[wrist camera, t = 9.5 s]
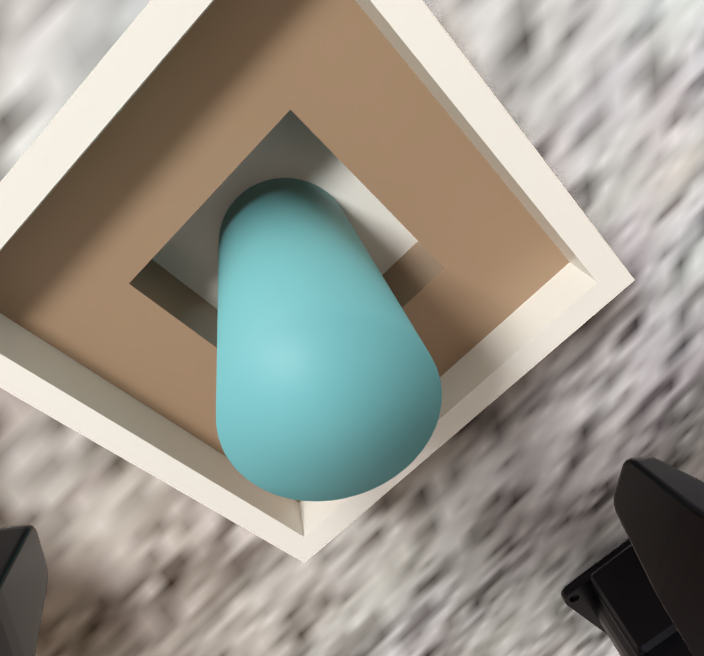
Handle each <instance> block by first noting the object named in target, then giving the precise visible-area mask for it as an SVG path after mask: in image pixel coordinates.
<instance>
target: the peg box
mask: <svg viewBox="0 0 704 656" xmlns="http://www.w3.org/2000/svg"><path fill="white" fill-rule="evenodd" d="M276 178H295V179H301V180H304V181H307V182H311V183H313V184H315V185H317V186H319V187H320V188H322V189H324V190H325V191H326V192H328V193H329V194H330V195H331V196H332V197H333V198H334V199H335V200H336V201H337V202H338V204H339V205H340V207H341V208H342V210H343V211H344V213H345V215H346V216H347V218H348V220H349V221H350V223H351V225H352V226H353V228H354V230H355V231H356V233H357V235H358V236H359V238H360V240H361V241H362V243H363V244H364V246H365V248H366V249H367V251H368V253H369V254H370V256H371V258H372V259H373V261H374V263H375V264H376V266H377V268H378V269H379V271H380V273H381V274H382V276H383V278H384V279H385V281H386V282H387V284H388V286H389V287H390V289H391V291H392V292H393V294H394V296H395V297H396V299H397V301H398V302H399V304H400V306H401V307H402V309H403V311H404V312H405V314H406V316H407V317H408V319H409V320H410V322H411V324H412V325H413V327H414V329H415V330H416V332H417V334H418V335H419V337H420V339H421V340H422V342H423V344H424V345H425V347H426V349H427V350H428V352H429V354H430V355H431V357H432V359H433V361H434V363H435V365H436V367H437V370H438V373H439V377H440V380H441V389H442V404H441V410H440V415H439V419H438V422H437V425H436V428H435V430H434V432H433V434H432V436H431V438H430V440H429V441H428V443H427V444H426V446H425V448H424V449H423V450H422V452H421V453H420V454H419V455H418V456H417V458H416V459H415V460H414V461H413V462H412V463H411V464H410V465H409V466H408V467H407V468H406V469H404V470H403V471H402V472H400V473H399V474H398V475H397V476H395V477H394V478H392V479H391V480H389V481H387V482H386V483H384V484H382V485H380V486H378V487H376V488H374V489H372V490H370V491H367V492H365V493H362V494H359V495H356V496H352V497H348V498H344V499H338V500H332V501H301V500H294V499H289V498H285V497H281V496H278V495H275V494H272V493H270V492H267V491H265V490H263V489H261V488H260V487H258V486H256V485H254V484H253V483H251V482H250V481H249V480H247V479H246V478H245V477H244V476H243V475H242V474H240V473H239V472H238V471H237V470H236V469H235V467H234V466H233V465H232V463H231V462H230V461H229V460H228V458H227V456H226V454H225V452H224V451H223V449H222V446H221V443H220V440H219V438H218V432H217V427H216V377H217V317H218V256H219V233H220V227H221V224H222V221H223V218H224V216H225V214H226V212H227V210H228V209H229V207H230V206H231V204H232V203H233V202H234V201H235V199H236V198H237V197H239V196H240V195H241V194H242V193H243V192H244V191H246V190H247V189H249V188H250V187H252V186H254V185H256V184H258V183H261V182H263V181H266V180H271V179H276ZM633 281H634V278H633V277H632V276H631V274H630V273H629V272H628V270H627V269H626V268H625V266H624V265H623V264H622V262H621V261H620V260H619V259H618V257H617V256H616V255H615V253H614V252H613V251H612V249H611V248H610V247H609V245H608V244H607V243H606V241H605V240H604V239H603V237H602V236H601V235H600V233H599V232H598V231H597V230H596V228H595V227H594V226H593V224H592V223H591V222H590V220H589V219H588V218H587V216H586V215H585V214H584V212H583V211H582V210H581V208H580V207H579V206H578V204H577V203H576V202H575V201H574V199H573V198H572V197H571V195H570V194H569V193H568V191H567V190H566V189H565V187H564V186H563V185H562V183H561V182H560V181H559V179H558V178H557V177H556V175H555V174H554V173H553V172H552V170H551V169H550V168H549V166H548V165H547V164H546V162H545V161H544V160H543V158H542V157H541V156H540V154H539V153H538V152H537V150H536V149H535V148H534V146H533V145H532V144H531V143H530V141H529V140H528V139H527V137H526V136H525V135H524V133H523V132H522V131H521V129H520V128H519V127H518V125H517V124H516V123H515V121H514V120H513V119H512V117H511V116H510V115H509V114H508V112H507V111H506V110H505V108H504V107H503V106H502V104H501V103H500V102H499V100H498V99H497V98H496V96H495V95H494V94H493V92H492V91H491V90H490V88H489V87H488V86H487V85H486V83H485V82H484V81H483V79H482V78H481V77H480V75H479V74H478V73H477V71H476V70H475V69H474V67H473V66H472V65H471V63H470V62H469V61H468V59H467V58H466V57H465V56H464V54H463V53H462V52H461V50H460V49H459V48H458V46H457V45H456V44H455V42H454V41H453V40H452V38H451V37H450V36H449V34H448V33H447V32H446V30H445V29H444V28H443V27H442V25H441V24H440V23H439V21H438V20H437V19H436V17H435V16H434V15H433V13H432V12H431V11H430V9H429V8H428V7H427V5H426V4H425V3H424V1H423V0H150V2H149V3H148V4H147V5H146V6H145V8H144V9H143V10H142V11H141V12H140V14H139V15H138V16H137V17H136V19H135V20H134V21H133V22H132V23H131V25H130V26H129V27H128V28H127V29H126V31H125V32H124V33H123V34H122V35H121V37H120V38H119V39H118V40H117V42H116V43H115V44H114V45H113V46H112V48H111V49H110V50H109V51H108V52H107V54H106V55H105V56H104V57H103V58H102V60H101V61H100V62H99V63H98V65H97V66H96V67H95V68H94V69H93V71H92V72H91V73H90V74H89V75H88V77H87V78H86V79H85V80H84V81H83V83H82V84H81V85H80V86H79V88H78V89H77V90H76V91H75V92H74V94H73V95H72V96H71V97H70V98H69V100H68V101H67V102H66V103H65V104H64V106H63V107H62V108H61V109H60V111H59V112H58V113H57V114H56V115H55V117H54V118H53V119H52V120H51V121H50V123H49V124H48V125H47V126H46V127H45V129H44V130H43V131H42V132H41V134H40V135H39V136H38V137H37V138H36V140H35V141H34V142H33V143H32V144H31V146H30V147H29V148H28V149H27V150H26V152H25V153H24V154H23V155H22V157H21V158H20V159H19V160H18V161H17V163H16V164H15V165H14V166H13V167H12V169H11V170H10V171H9V172H8V173H7V175H6V176H5V177H4V178H3V180H2V181H1V182H0V388H2V389H3V390H5V391H7V392H9V393H10V394H12V395H14V396H15V397H17V398H19V399H21V400H22V401H24V402H26V403H28V404H29V405H31V406H33V407H35V408H36V409H38V410H40V411H41V412H43V413H45V414H47V415H48V416H50V417H52V418H54V419H55V420H57V421H59V422H61V423H62V424H64V425H66V426H68V427H69V428H71V429H73V430H74V431H76V432H78V433H80V434H81V435H83V436H85V437H87V438H88V439H90V440H92V441H94V442H95V443H97V444H99V445H101V446H102V447H104V448H106V449H107V450H109V451H111V452H113V453H114V454H116V455H118V456H120V457H121V458H123V459H125V460H127V461H128V462H130V463H132V464H134V465H135V466H137V467H139V468H140V469H142V470H144V471H146V472H147V473H149V474H151V475H153V476H154V477H156V478H158V479H160V480H161V481H163V482H165V483H166V484H168V485H170V486H172V487H173V488H175V489H177V490H179V491H180V492H182V493H184V494H186V495H187V496H189V497H191V498H193V499H194V500H196V501H198V502H199V503H201V504H203V505H205V506H206V507H208V508H210V509H212V510H213V511H215V512H217V513H219V514H220V515H222V516H224V517H226V518H227V519H229V520H231V521H232V522H234V523H236V524H238V525H239V526H241V527H243V528H245V529H246V530H248V531H250V532H252V533H253V534H255V535H257V536H259V537H260V538H262V539H264V540H265V541H267V542H269V543H271V544H272V545H274V546H276V547H278V548H279V549H281V550H283V551H285V552H286V553H288V554H290V555H291V556H293V557H295V558H297V559H298V560H300V561H302V562H304V563H305V562H306V561H307V560H309V559H310V558H311V557H312V556H313V555H314V554H316V553H317V552H318V551H319V550H320V549H321V548H323V547H324V546H325V545H326V544H327V543H328V542H330V541H331V540H332V539H333V538H334V537H335V536H337V535H338V534H339V533H340V532H341V531H342V530H344V529H345V528H346V527H347V526H348V525H350V524H351V523H352V522H353V521H354V520H355V519H357V518H358V517H359V516H360V515H361V514H362V513H364V512H365V511H366V510H367V509H368V508H369V507H371V506H372V505H373V504H374V503H375V502H376V501H378V500H379V499H380V498H381V497H382V496H383V495H385V494H386V493H387V492H388V491H389V490H390V489H392V488H393V487H394V486H395V485H396V484H397V483H399V482H400V481H401V480H402V479H403V478H404V477H406V476H407V475H408V474H409V473H410V472H411V471H413V470H414V469H415V468H416V467H417V466H418V465H420V464H421V463H422V462H423V461H424V460H425V459H427V458H428V457H429V456H430V455H431V454H432V453H434V452H435V451H436V450H437V449H438V448H439V447H441V446H442V445H443V444H444V443H445V442H446V441H448V440H449V439H450V438H451V437H452V436H453V435H455V434H456V433H457V432H458V431H459V430H460V429H462V428H463V427H464V426H465V425H466V424H467V423H469V422H470V421H471V420H472V419H473V418H474V417H476V416H477V415H478V414H479V413H480V412H481V411H483V410H484V409H485V408H486V407H487V406H488V405H490V404H491V403H492V402H493V401H494V400H495V399H497V398H498V397H499V396H500V395H501V394H502V393H504V392H505V391H506V390H507V389H508V388H509V387H511V386H512V385H513V384H514V383H515V382H516V381H518V380H519V379H520V378H521V377H522V376H523V375H525V374H526V373H527V372H528V371H529V370H530V369H532V368H533V367H534V366H535V365H536V364H537V363H539V362H540V361H541V360H542V359H543V358H544V357H546V356H547V355H548V354H549V353H550V352H551V351H553V350H554V349H555V348H556V347H557V346H558V345H560V344H561V343H562V342H563V341H564V340H565V339H567V338H568V337H569V336H570V335H571V334H572V333H574V332H575V331H576V330H577V329H578V328H579V327H581V326H582V325H583V324H584V323H585V322H586V321H588V320H589V319H590V318H591V317H592V316H593V315H595V314H596V313H597V312H598V311H599V310H600V309H602V308H603V307H604V306H605V305H606V304H607V303H609V302H610V301H611V300H612V299H613V298H614V297H616V296H617V295H618V294H619V293H620V292H621V291H623V290H624V289H625V288H626V287H627V286H628V285H630V284H631V283H632V282H633Z"/></svg>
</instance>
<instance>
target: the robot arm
mask: <svg viewBox="0 0 704 656" xmlns="http://www.w3.org/2000/svg"><path fill="white" fill-rule="evenodd" d="M614 506H615V510H616V513H617V515H618V517H619V519H620V521H621V523H622V525H623V527H624V529H625V531H626V533H627V535H628V537H629V540H628V541H627V542H626V543H624V544H623V545H622V546H620V547H619V548H618V549H616V550H615V551H614V552H612V553H611V554H610V555H608V556H607V557H606V558H604V559H603V560H602V561H600V562H599V563H598V564H596V565H595V566H594V567H592V568H591V569H590V570H588V571H587V572H586V573H584V574H583V575H582V576H580V577H579V578H578V579H576V580H575V581H574V582H572V583H571V584H570V585H568V586H567V587H566V588H565V589H564V590H563V591H562V593H561V596H562V598H563V600H564V601H565V603H566V604H567V605H568V606H569V607H571V608H572V609H573V610H575V611H576V612H578V613H579V614H580V615H582V616H583V617H584V618H586V619H587V620H589V621H590V622H591V623H593V624H594V625H595V626H597V627H598V628H599V629H601V630H602V631H604V632H605V633H606V634H608V636H609V638H610V639H611V641H612V642H613V644H614V646H615V647H616V649H617V651H618V652H619V654H620V655H621V656H704V482H702V481H700V480H698V479H696V478H694V477H692V476H690V475H688V474H686V473H684V472H682V471H680V470H678V469H676V468H674V467H672V466H670V465H668V464H666V463H664V462H662V461H660V460H658V459H656V458H654V457H638V458H630V459H628V460H626V461H625V463H624V464H623V466H622V470H621V473H620V477H619V480H618V484H617V487H616V490H615V494H614ZM47 577H48V575H47V565H46V562H45V558H44V555H43V551H42V548H41V544H40V541H39V537H38V534H37V531H36V529H35V528H34V526H32V525H19V526H10V527H4V528H1V529H0V656H35V652H36V646H37V640H38V634H39V628H40V622H41V616H42V610H43V604H44V598H45V593H46V587H47Z"/></svg>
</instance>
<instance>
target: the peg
mask: <svg viewBox="0 0 704 656" xmlns="http://www.w3.org/2000/svg"><path fill="white" fill-rule="evenodd" d="M441 404H442V389H441V380H440V377H439V373H438V370H437V367H436V365H435V363H434V361H433V359H432V357H431V355H430V354H429V352H428V350H427V349H426V347H425V345H424V344H423V342H422V340H421V339H420V337H419V335H418V334H417V332H416V330H415V329H414V327H413V325H412V324H411V322H410V320H409V319H408V317H407V316H406V314H405V312H404V311H403V309H402V307H401V306H400V304H399V302H398V301H397V299H396V297H395V296H394V294H393V292H392V291H391V289H390V287H389V286H388V284H387V282H386V281H385V279H384V278H383V276H382V274H381V273H380V271H379V269H378V268H377V266H376V264H375V263H374V261H373V259H372V258H371V256H370V254H369V253H368V251H367V249H366V248H365V246H364V244H363V243H362V241H361V240H360V238H359V236H358V235H357V233H356V231H355V230H354V228H353V226H352V225H351V223H350V221H349V220H348V218H347V216H346V215H345V213H344V211H343V210H342V208H341V207H340V205H339V204H338V202H337V201H336V200H335V199H334V198H333V197H332V196H331V195H330V194H329V193H328V192H326V191H325V190H324V189H322V188H320V187H319V186H317V185H315V184H313V183H311V182H307V181H304V180H301V179H295V178H276V179H271V180H266V181H263V182H261V183H258V184H256V185H254V186H252V187H250V188H249V189H247V190H246V191H244V192H243V193H242V194H241V195H240V196H239V197H237V198H236V199H235V201H234V202H233V203H232V204H231V206H230V207H229V209H228V210H227V212H226V214H225V216H224V218H223V221H222V224H221V227H220V233H219V256H218V317H217V377H216V427H217V432H218V438H219V440H220V443H221V446H222V449H223V451H224V452H225V454H226V456H227V458H228V460H229V461H230V462H231V463H232V465H233V466H234V467H235V469H236V470H237V471H238V472H239V473H240V474H242V475H243V476H244V477H245V478H246V479H247V480H249V481H250V482H251V483H253V484H254V485H256V486H258V487H260V488H261V489H263V490H265V491H267V492H270V493H272V494H275V495H278V496H281V497H285V498H289V499H294V500H301V501H332V500H338V499H344V498H348V497H352V496H356V495H359V494H362V493H365V492H367V491H370V490H372V489H374V488H376V487H378V486H380V485H382V484H384V483H386V482H387V481H389V480H391V479H392V478H394V477H395V476H397V475H398V474H399V473H400V472H402V471H403V470H404V469H406V468H407V467H408V466H409V465H410V464H411V463H412V462H413V461H414V460H415V459H416V458H417V456H418V455H419V454H420V453H421V452H422V450H423V449H424V448H425V446H426V444H427V443H428V441H429V440H430V438H431V436H432V434H433V432H434V430H435V428H436V425H437V422H438V419H439V415H440V410H441Z"/></svg>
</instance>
